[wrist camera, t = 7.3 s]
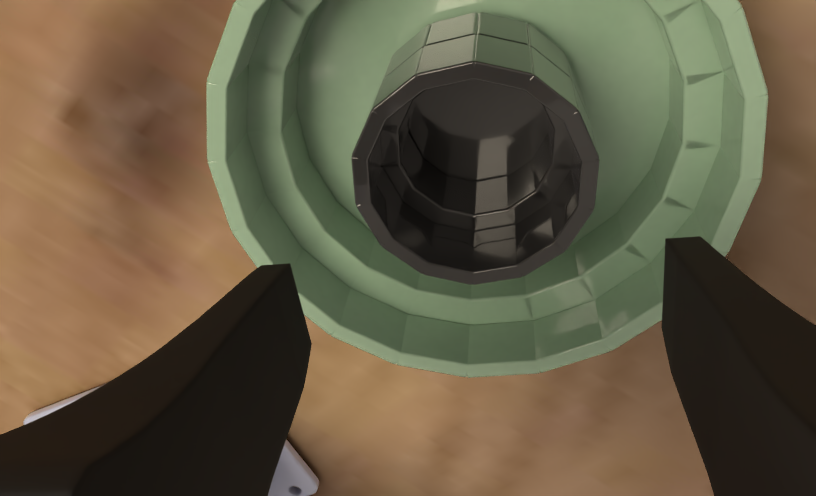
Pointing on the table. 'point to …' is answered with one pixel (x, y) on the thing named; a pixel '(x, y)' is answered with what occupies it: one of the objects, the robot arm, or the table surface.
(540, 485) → the table surface
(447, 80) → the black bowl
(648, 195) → the sage bowl
